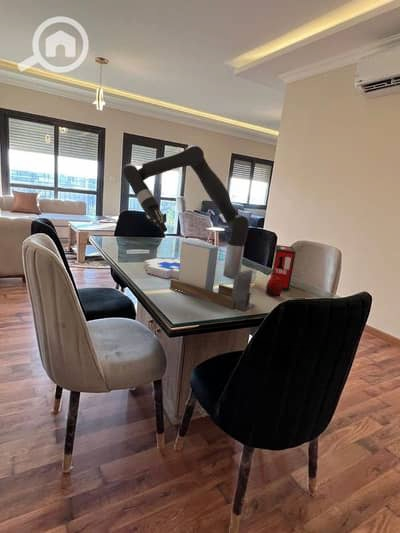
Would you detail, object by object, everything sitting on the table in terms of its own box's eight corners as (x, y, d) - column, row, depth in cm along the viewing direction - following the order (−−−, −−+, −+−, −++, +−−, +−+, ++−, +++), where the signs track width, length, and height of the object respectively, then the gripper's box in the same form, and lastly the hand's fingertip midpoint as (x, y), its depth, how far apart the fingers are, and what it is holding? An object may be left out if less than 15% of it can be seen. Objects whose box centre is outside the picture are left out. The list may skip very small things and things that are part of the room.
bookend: (244, 301, 134) (249, 269, 131) (256, 304, 131) (261, 272, 128) (229, 308, 124) (234, 274, 120) (242, 312, 121) (247, 277, 118)
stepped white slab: (206, 265, 176) (180, 274, 152) (206, 272, 177) (180, 282, 152) (165, 256, 188) (134, 263, 164) (164, 262, 189) (134, 270, 165)
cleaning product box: (269, 280, 174) (275, 244, 170) (286, 283, 172) (292, 247, 168) (270, 288, 158) (276, 249, 154) (288, 291, 157) (295, 252, 152)
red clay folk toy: (283, 297, 146) (289, 265, 143) (272, 298, 143) (278, 266, 139) (272, 292, 153) (277, 261, 149) (261, 293, 149) (266, 262, 146)
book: (185, 285, 148) (190, 240, 143) (212, 293, 140) (218, 247, 135) (177, 287, 142) (181, 241, 138) (204, 296, 135) (210, 248, 130)
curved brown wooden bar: (186, 283, 151) (187, 275, 150) (249, 302, 134) (250, 293, 133) (170, 288, 141) (170, 279, 140) (235, 309, 123) (237, 299, 122)
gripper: (142, 195, 143) (160, 226, 139) (161, 197, 153) (179, 226, 150) (133, 206, 147) (150, 236, 143) (152, 206, 157) (169, 235, 154)
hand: (165, 231), depth 146 cm, fingers closed
